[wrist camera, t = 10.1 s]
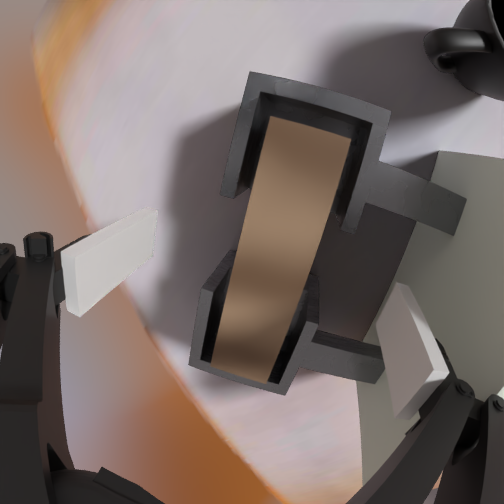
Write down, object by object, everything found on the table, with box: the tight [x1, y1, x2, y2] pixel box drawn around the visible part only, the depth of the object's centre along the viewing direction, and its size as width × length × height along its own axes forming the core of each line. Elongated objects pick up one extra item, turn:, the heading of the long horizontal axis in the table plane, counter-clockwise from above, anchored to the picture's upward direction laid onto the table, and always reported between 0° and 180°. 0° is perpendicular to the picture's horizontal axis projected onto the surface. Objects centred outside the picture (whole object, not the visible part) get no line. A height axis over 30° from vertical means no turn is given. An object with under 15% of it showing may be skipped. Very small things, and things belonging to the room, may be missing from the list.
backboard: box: [356, 151, 504, 486], centre depth 15 cm, size 20×2×16 cm, turn 166°
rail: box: [210, 116, 351, 384], centre depth 18 cm, size 16×4×5 cm, turn 166°
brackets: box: [188, 72, 467, 395], centre depth 20 cm, size 20×14×7 cm
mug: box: [424, 0, 504, 101], centre depth 11 cm, size 8×12×10 cm
